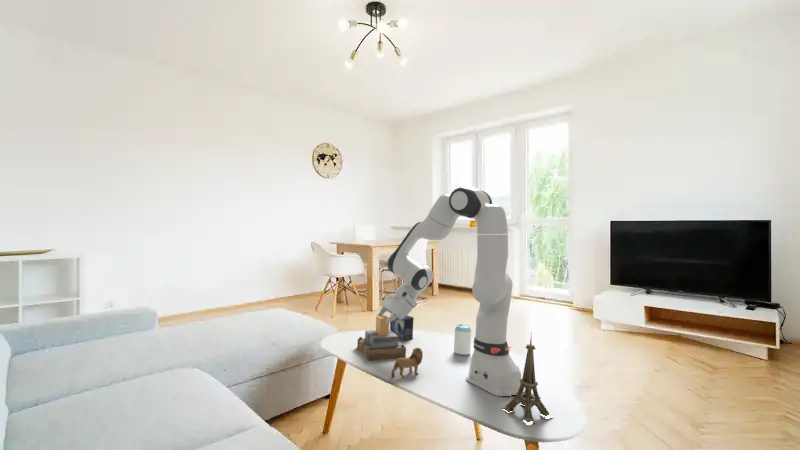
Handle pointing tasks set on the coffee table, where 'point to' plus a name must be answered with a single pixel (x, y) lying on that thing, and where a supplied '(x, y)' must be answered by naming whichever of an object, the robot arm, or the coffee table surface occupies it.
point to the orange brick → (382, 325)
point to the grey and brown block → (381, 346)
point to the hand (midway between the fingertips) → (382, 319)
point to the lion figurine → (408, 362)
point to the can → (462, 339)
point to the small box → (403, 327)
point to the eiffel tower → (528, 389)
